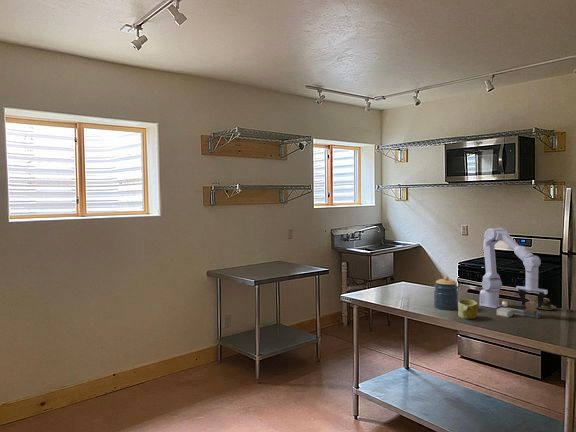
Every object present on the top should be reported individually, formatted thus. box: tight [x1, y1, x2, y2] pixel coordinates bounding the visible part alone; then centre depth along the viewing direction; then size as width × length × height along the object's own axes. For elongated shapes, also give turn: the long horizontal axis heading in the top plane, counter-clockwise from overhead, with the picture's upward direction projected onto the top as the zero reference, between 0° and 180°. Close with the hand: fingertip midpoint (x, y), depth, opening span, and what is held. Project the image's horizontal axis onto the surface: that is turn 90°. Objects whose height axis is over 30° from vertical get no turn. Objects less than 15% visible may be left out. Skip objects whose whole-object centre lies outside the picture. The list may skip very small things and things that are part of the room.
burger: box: [536, 295, 558, 312], centre depth 250 cm, size 12×12×8 cm
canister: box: [433, 275, 460, 311], centre depth 253 cm, size 13×13×18 cm
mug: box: [457, 298, 479, 320], centre depth 233 cm, size 12×10×10 cm
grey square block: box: [495, 307, 514, 318], centre depth 237 cm, size 6×6×3 cm
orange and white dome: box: [501, 300, 509, 307], centre depth 236 cm, size 3×3×2 cm
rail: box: [500, 305, 542, 319], centre depth 238 cm, size 18×5×3 cm, turn 42°
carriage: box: [523, 300, 539, 318], centre depth 234 cm, size 5×6×7 cm
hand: (531, 305), depth 234 cm, fingers open, 7 cm apart
